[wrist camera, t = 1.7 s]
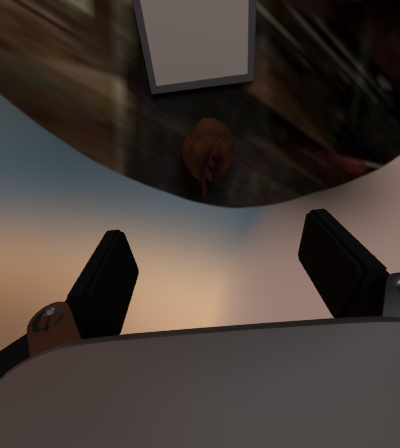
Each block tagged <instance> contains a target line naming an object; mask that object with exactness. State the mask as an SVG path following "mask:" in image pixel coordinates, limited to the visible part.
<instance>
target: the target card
mask: <svg viewBox="0 0 400 448" xmlns="http://www.w3.org/2000/svg"><path fill="white" fill-rule="evenodd" d="M133 5H134V10H135V15H136V20H137V25H138V30H139V35H140V39H141V44H142V49H143V54H144V59H145V64H146V69H147V74H148V78H149V83H150V88H151V93H152V94H157V93H165V92H173V91H180V90H188V89H195V88H203V87H210V86H218V85H225V84H233V83H241V82H248V81H254V57H255V23H256V0H133Z"/></svg>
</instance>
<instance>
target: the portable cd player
mask: <svg viewBox="0 0 400 448" xmlns="http://www.w3.org/2000/svg"><path fill="white" fill-rule="evenodd" d="M364 1H368V0H336V2H335V4H336V5H337V6H338V7H341V6H345V5H350V4H355V3H359V2H364Z"/></svg>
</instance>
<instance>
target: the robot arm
mask: <svg viewBox="0 0 400 448" xmlns="http://www.w3.org/2000/svg"><path fill="white" fill-rule="evenodd" d="M298 256H299V260H300V262H301V264H302V265H303V267H304V269H305V270H306V272H307V274H308V275H309V277H310V279H311V281H312V282H313V284H314V286H315V287H316V289H317V291H318V292H319V294H320V296H321V297H322V299H323V301H324V302H325V304H326V306H327V308H328V309H329V311H330V313H331V314H332V315H333V317H334V318H330V319H315V320H302V321H287V322H273V323H259V324H247V325H234V326H220V327H207V328H194V329H182V330H170V331H159V332H145V333H134V334H124V335H119V334H120V333H121V329H122V327H123V323H124V320H125V317H126V313H127V310H128V307H129V303H130V300H131V297H132V293H133V290H134V287H135V284H136V280H137V277H138V273H139V271H138V267H137V264H136V262H135V259H134V257H133V254H132V251H131V249H130V246H129V244H128V241H127V239H126V236H125V234H124V233H123V232H121V231H120V230H110V231H107V232H106V233H105V235H104V237H103V238H102V240H101V241H100V243H99V245H98V246H97V248H96V250H95V251H94V253H93V254H92V256H91V258H90V259H89V261H88V263H87V264H86V266H85V268H84V269H83V271H82V272H81V274H80V276H79V278H78V279H77V281H76V282H75V284H74V286H73V287H72V289H71V291H70V292H69V294H68V295H67V296H68V297H67V299H66V301H65V302H55V303H52V304H50V305H48V306H45V307H44V308H42V309H41V310H40V311H39V312H37V313H36V314H35V315H34V316H33V318H32V319H31V320H30V322H29V324H28V326H27V334H25V335H24V336H22V337H21V338H19V339H18V340H16V341H15V342H13V343H12V344H10V345H9V346H7V347H6V348H4V349H3V350H1V351H0V448H400V273H393V274H391V275H390V274H389V273H388V272H387V271H386V267H385V266H384V265H383V264H382V263H381V262H380V261H379V260H378V259H377V258H376V257H375V256H374V255H372V254H371V253H370V252H369V251H368V250H367V249H366V248H365V247H364V246H363V245H362V244H361V243H360V242H359V241H358V240H357V239H356V238H355V237H354V236H353V235H352V234H351V233H349V232H348V231H347V230H346V229H345V228H344V227H343V226H342V225H341V224H340V223H339V222H338V221H337V220H336V219H335V218H334V217H333V216H332V215H331V214H330V213H328V211H327V210H325V209H317V210H311V211H310V213H308V214H307V215H306V219H305V223H304V228H303V233H302V238H301V242H300V248H299V252H298Z"/></svg>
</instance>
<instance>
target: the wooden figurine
mask: <svg viewBox="0 0 400 448" xmlns="http://www.w3.org/2000/svg"><path fill="white" fill-rule="evenodd" d="M233 150H234V138H233V136H232V134H231V131H230V130H229V129H228V128H227V127H226V126H225V125H224V124H223V123H222V122H220V121H218V120H217V119H215V118H203V119H202V120H200V121H199V122H198V123H197V124H196V125H195V126H194V127H193V129H192V130H191V131H190V133H189V134H188V136H187V137H186V139H185V141H184V143H183V146H182V148H181V151H182V157H183V161H184V163H185V164H186V166H187V167H188V169H189V170H190V172H191V174H192V176H194V177H195V178H196V179H197V180H198V181H201V185H202V192H203V198H204V199H206V196H207V190H208V184H209V182H214V181H216V180H218V179H220V178H221V177H223V176H224V175H225V173H226V172H227V170H228V168H229V166H230V162H231V154H232V152H233Z"/></svg>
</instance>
